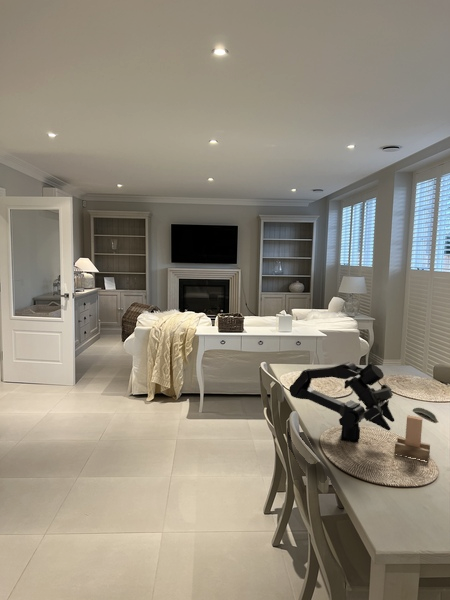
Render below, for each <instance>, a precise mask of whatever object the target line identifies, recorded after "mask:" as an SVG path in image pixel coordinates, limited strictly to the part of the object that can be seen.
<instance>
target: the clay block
mask: <svg viewBox="0 0 450 600" xmlns="http://www.w3.org/2000/svg"><path fill="white" fill-rule="evenodd" d="M423 419H424V418H423V417H420V416H414V415H411V414H410V415H409V414H407V416H406V425H405V427H406V428H405V438H404V439H405V444H406V445H410V446H414V447H418V448H420V446H421V442H422V433H423V421H424V420H423Z"/></svg>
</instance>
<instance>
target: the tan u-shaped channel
mask: <svg viewBox="0 0 450 600" xmlns="http://www.w3.org/2000/svg"><path fill="white" fill-rule="evenodd" d="M396 440H397V442H396V441H395V442H394V443H395V444H394V452H393V453H394V454H397V455H402V456H407V457H411V458H416V459H420V460H425V461H428V462H429V458H428V457H430V454H431V452H430V450H431V444H430V443H425V442H422V441H421V446H420V448H418V447H414V446H410V445H406V444H405V438H403V437H399V436H397V439H396ZM394 454H393V455H394ZM397 455H396V456H397Z"/></svg>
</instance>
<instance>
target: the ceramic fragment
mask: <svg viewBox="0 0 450 600" xmlns="http://www.w3.org/2000/svg"><path fill="white" fill-rule="evenodd" d="M412 412H413V413H417V414H424V415H425V416H427V417H429V418H430V419H432V420H433V422H435V423H439V421H438V419H437V416H436V415H435V414H434V412H432V411H430V410H428V409H425V408H423V407H415V408H413V409H412Z"/></svg>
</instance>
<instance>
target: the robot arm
mask: <svg viewBox="0 0 450 600" xmlns="http://www.w3.org/2000/svg"><path fill="white" fill-rule="evenodd" d="M384 377H385V374H384V372H383V370H382V369H381V368H380V367H378V366H377V365H375V364H374V363H373V362H370V363H368V364H367V365H366V366H365V367H364V368H363V367H360V366H357V365H356V364H355V363H354V362H353V361H347V362H344V363H342V364H338V365H335V366H328V367H327V366H326V367H319V368H307V369H305V370H302V371H301V372H300V374H299V376H298V377H297V378H296V379H295V380H294V382H293V384H291V385H290V386H289V388H288V390H289V393H290V396H291V397H293V398H295V399H298V400H308V401H310V402H313V403H315V404H317V405H320V406H322V407H324V408H326V409H329V410H330V411H333V412H336V413H337V414H339V415H340V418H339V419H338V422H339V425H340V426H341V433H340V440H341V441H342V440H344V442H349V441H351V442H352V443H356V442H358V443H359V440H360V435H361V428H360V425H359V423H361V422H362V421H363V420H365V421H366V422H369V423H373V424H375V425H377V426H379V427H381V428H382V429H384V430H387V431H388V432H389V431H390V430H392V429H391V427H390V425H389V424H388V422H387V421H386V419H387V420H389V422H390V423H391V422H392V423H393V422H395V418H394V416H393V414H392V412H391V409H390V406H389V399H392V398H393V396H394V395H393V391H392V388H391V387H390V386H388V385H387V384H382V385H381V386H380V388H379V389H375V388H373V387H370V386H373V385H374V384H376V383H378V382H379V381H380V380H382V379H383V378H384ZM324 378H336V379H339V380H345V381H344V387H343V388H344V389H347V388H351V390H352V392H353V393H354V394H355V395H356V396H357V397H358V399H357V400H358V402H356V401H354V400H352V399H350V400H348V401H347V402H343V401H341V400H338V399H337V398H334V397H332V396H329V395H327V394H324V393H322V392H320V391H318V390H315V389H314V388H313V387H312V386H311V384H312V380H314V379H324ZM350 378H351V379H350ZM348 379H350V380H348ZM359 402H361V403H363V404H364V406H365V407H364V406H363V405H361V403H359Z"/></svg>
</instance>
